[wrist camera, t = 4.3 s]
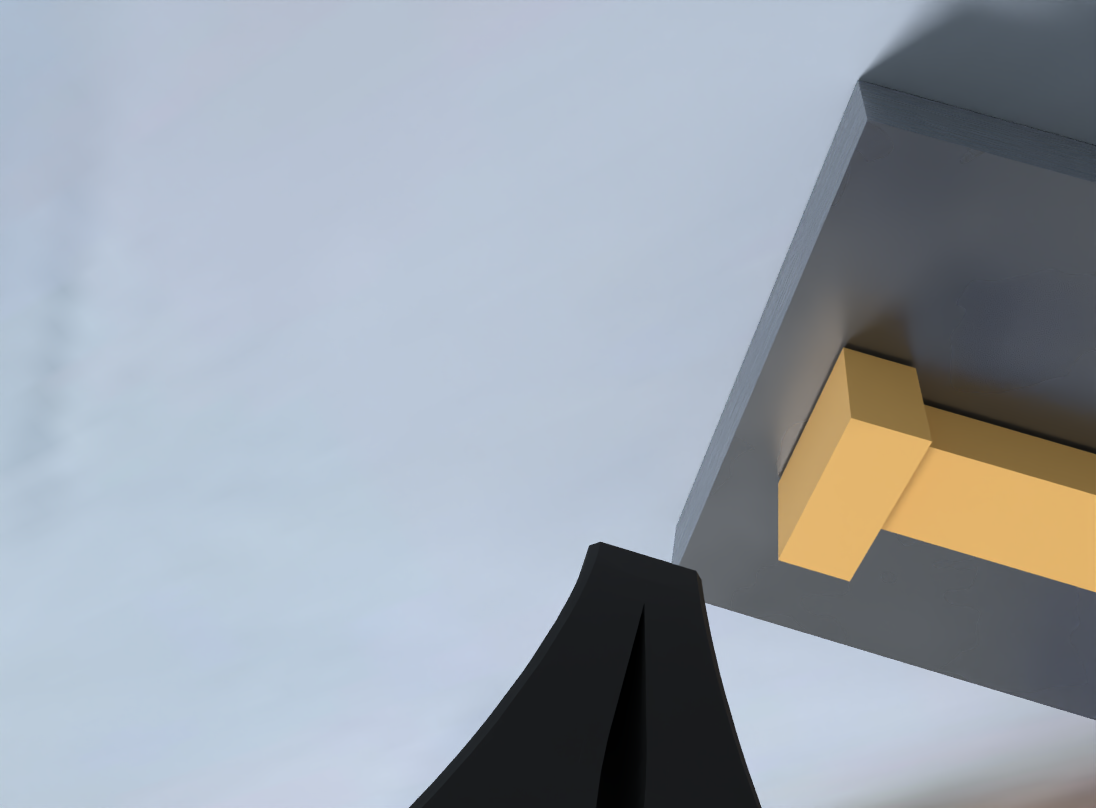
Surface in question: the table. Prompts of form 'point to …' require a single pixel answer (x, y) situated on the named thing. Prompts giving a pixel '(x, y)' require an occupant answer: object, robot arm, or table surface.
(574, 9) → the table surface
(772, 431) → the dark grey socket tray
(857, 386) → the bar
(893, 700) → the table surface
